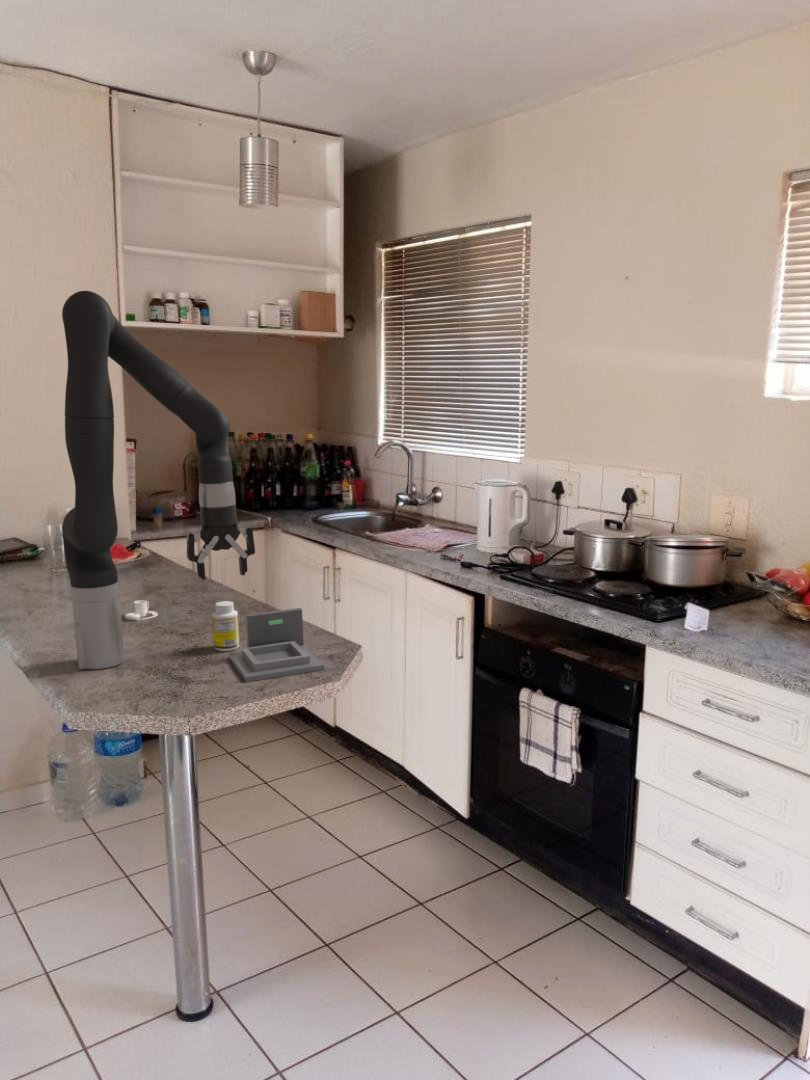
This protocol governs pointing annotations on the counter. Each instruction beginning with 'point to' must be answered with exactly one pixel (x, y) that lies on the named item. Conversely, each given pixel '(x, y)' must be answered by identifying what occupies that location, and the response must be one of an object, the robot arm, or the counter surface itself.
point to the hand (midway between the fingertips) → (223, 576)
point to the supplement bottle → (225, 627)
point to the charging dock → (274, 647)
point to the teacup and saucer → (140, 611)
